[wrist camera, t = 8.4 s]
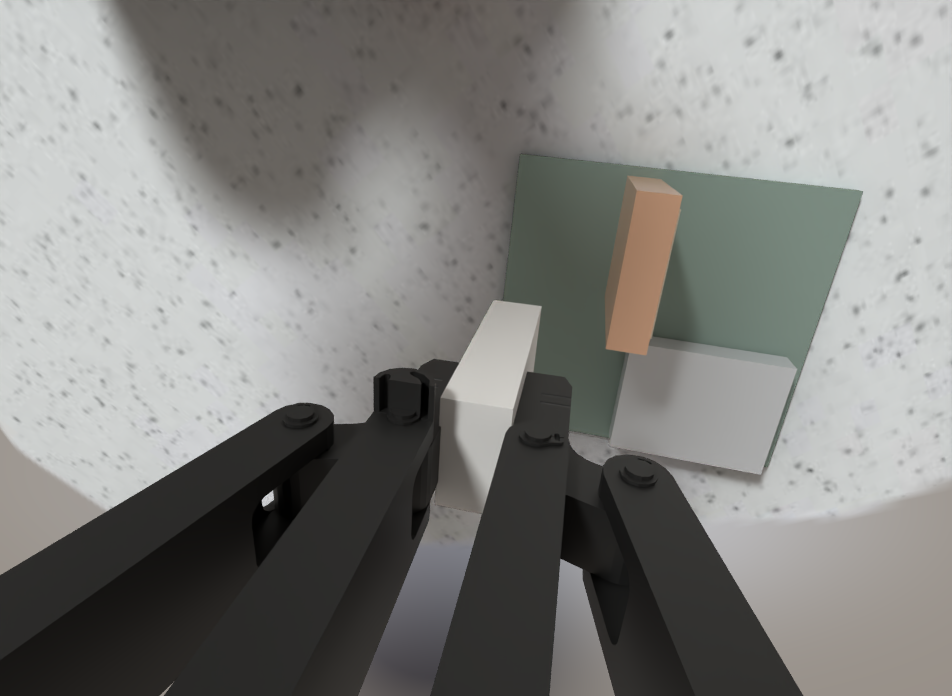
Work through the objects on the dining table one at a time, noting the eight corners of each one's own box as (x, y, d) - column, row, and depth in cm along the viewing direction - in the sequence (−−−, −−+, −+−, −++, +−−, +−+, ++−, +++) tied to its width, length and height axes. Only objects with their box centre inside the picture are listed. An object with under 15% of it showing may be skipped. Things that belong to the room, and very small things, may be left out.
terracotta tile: (604, 296, 33) (605, 349, 25) (627, 175, 31) (636, 190, 22) (637, 300, 33) (649, 356, 25) (663, 179, 30) (686, 196, 22)
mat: (491, 411, 38) (489, 415, 38) (521, 153, 32) (520, 154, 31) (764, 462, 36) (767, 467, 35) (858, 190, 29) (863, 191, 29)
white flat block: (609, 446, 35) (760, 474, 33) (631, 342, 32) (797, 369, 31) (608, 431, 36) (752, 457, 35) (629, 331, 34) (786, 356, 32)
